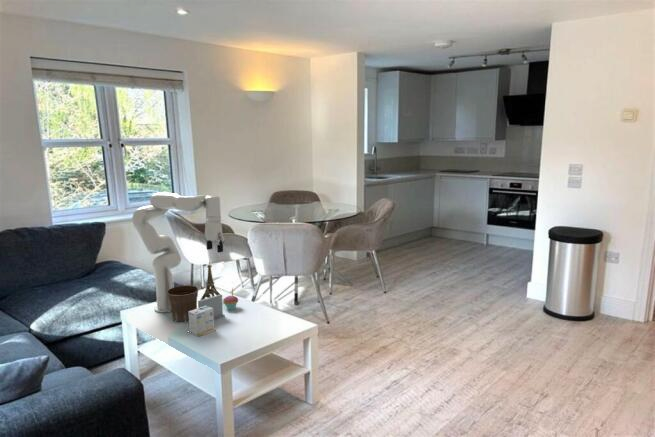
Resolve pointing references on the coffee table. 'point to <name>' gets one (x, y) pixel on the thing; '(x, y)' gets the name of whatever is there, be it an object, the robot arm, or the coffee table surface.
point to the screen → (213, 305)
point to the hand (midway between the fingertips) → (214, 250)
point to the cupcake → (230, 301)
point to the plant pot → (182, 301)
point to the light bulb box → (201, 319)
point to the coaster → (204, 332)
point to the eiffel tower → (210, 283)
